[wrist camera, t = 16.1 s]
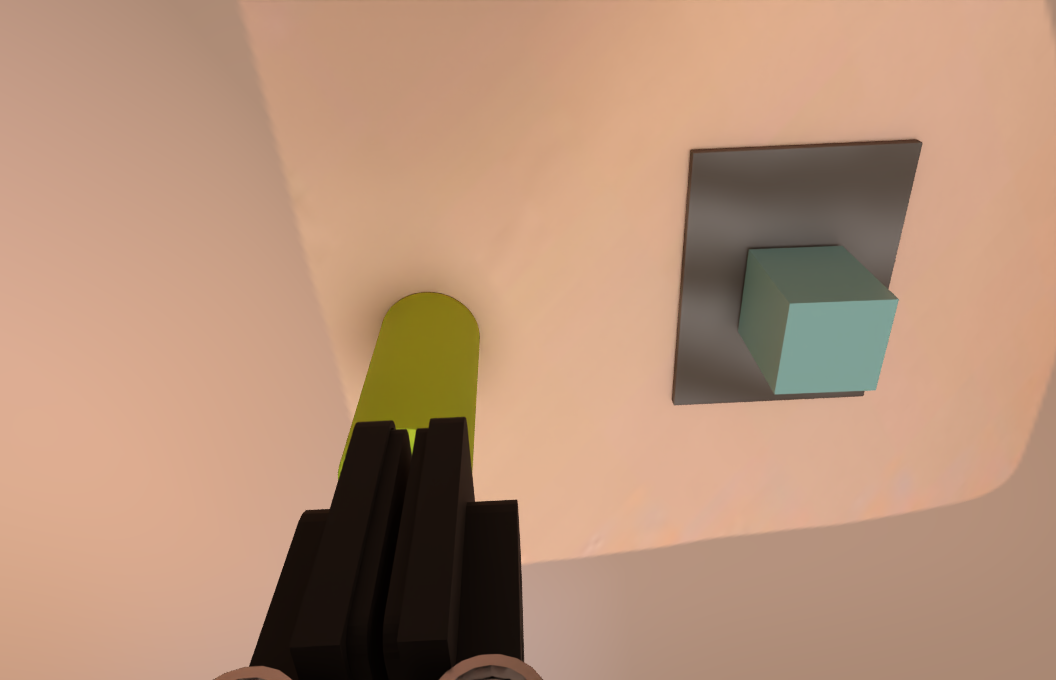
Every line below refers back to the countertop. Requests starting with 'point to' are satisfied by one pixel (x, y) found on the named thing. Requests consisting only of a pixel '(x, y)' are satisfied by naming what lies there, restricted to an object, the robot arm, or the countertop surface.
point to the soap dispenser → (422, 367)
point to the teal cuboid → (815, 319)
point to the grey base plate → (776, 243)
